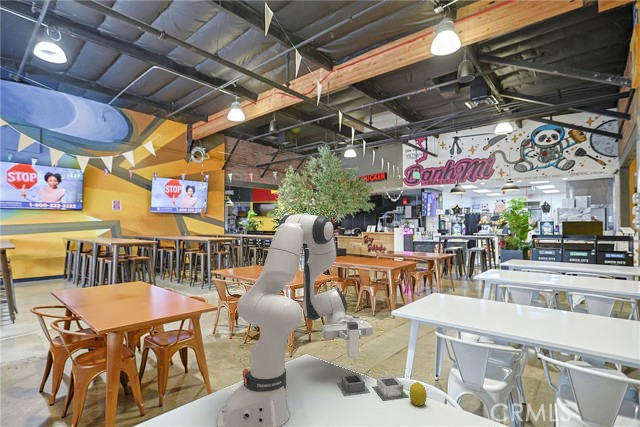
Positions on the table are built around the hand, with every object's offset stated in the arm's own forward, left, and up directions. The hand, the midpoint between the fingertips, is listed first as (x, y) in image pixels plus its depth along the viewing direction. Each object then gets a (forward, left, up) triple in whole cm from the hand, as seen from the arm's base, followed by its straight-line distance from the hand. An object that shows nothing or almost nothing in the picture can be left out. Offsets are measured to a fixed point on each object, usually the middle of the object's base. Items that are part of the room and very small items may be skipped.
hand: (353, 337), depth 117 cm
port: (+12, -5, -20) cm, 24 cm away
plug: (0, +1, -7) cm, 7 cm away
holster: (0, +1, -20) cm, 20 cm away
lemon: (+18, -14, -20) cm, 30 cm away
